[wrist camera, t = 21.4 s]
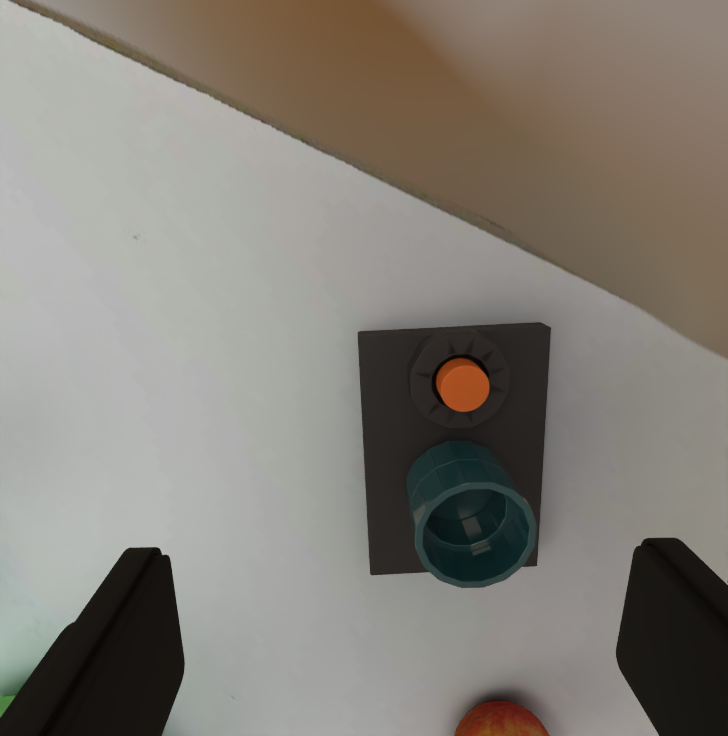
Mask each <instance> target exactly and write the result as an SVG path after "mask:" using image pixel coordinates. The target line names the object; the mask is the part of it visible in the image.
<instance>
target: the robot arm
mask: <svg viewBox="0 0 728 736" xmlns="http://www.w3.org/2000/svg"><path fill="white" fill-rule="evenodd" d="M616 658H617V662H618V666H619V668H620V670H621V672H622V674H623V676H624V677H625V679H626V681H627V682H628V684H629V686H630V687H631V689H632V691H633V692H634V694H635V696H636V697H637V699H638V701H639V702H640V704H641V706H642V707H643V709H644V711H645V712H646V714H647V716H648V717H649V719H650V721H651V722H652V724H653V726H654V727H655V729H656V731H657V732H658V734H659V736H728V585H727V584H726V583H725V582H724V581H723V580H722V579H721V578H720V577H719V576H718V575H716V574H715V573H714V572H713V571H712V570H711V569H710V568H709V567H708V566H707V565H706V564H705V563H704V562H703V561H702V560H701V559H700V558H699V557H698V556H697V555H696V554H695V553H694V552H693V551H692V550H690V549H689V548H688V547H687V546H686V545H685V544H684V543H683V542H682V541H681V540H679V539H677V538H647V539H644V540H643V542H642V544H641V546H637V547H636V548H635V550H634V553H633V559H632V564H631V570H630V575H629V581H628V586H627V592H626V598H625V603H624V609H623V614H622V620H621V625H620V631H619V636H618V642H617V647H616ZM184 665H185V662H184V653H183V646H182V639H181V632H180V625H179V618H178V611H177V604H176V597H175V590H174V583H173V575H172V568H171V561H170V558H169V556H168V555H162V553H161V551H160V549H159V548H157V547H147V548H128V549H126V550H125V551H124V552H123V554H122V555H121V557H120V558H119V560H118V561H117V562H116V564H115V565H114V567H113V568H112V570H111V571H110V572H109V574H108V575H107V577H106V578H105V579H104V581H103V582H102V584H101V585H100V587H99V588H98V589H97V591H96V592H95V594H94V595H93V597H92V598H91V599H90V601H89V602H88V604H87V605H86V607H85V608H84V609H83V611H82V612H81V614H80V615H79V617H78V618H77V619H76V621H75V622H73V623H71V624H70V625H68V626H67V627H66V628H65V629H64V630H63V631H62V632H61V633H60V635H59V636H58V638H57V639H56V640H55V642H54V643H53V645H52V646H51V647H50V649H49V650H48V652H47V653H46V654H45V656H44V657H43V659H42V660H41V661H40V663H39V664H38V666H37V667H36V668H35V670H34V671H33V673H32V674H31V675H30V677H29V678H28V680H27V681H26V682H25V684H24V685H23V687H22V688H21V689H20V691H19V692H18V694H17V695H16V696H15V698H14V699H13V701H12V702H11V703H10V705H9V706H8V707H7V709H6V710H5V712H4V713H3V714H2V716H1V717H0V736H162V733H163V730H164V728H165V725H166V722H167V720H168V717H169V714H170V712H171V709H172V706H173V704H174V701H175V698H176V696H177V693H178V690H179V688H180V685H181V682H182V679H183V674H184Z"/></svg>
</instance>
